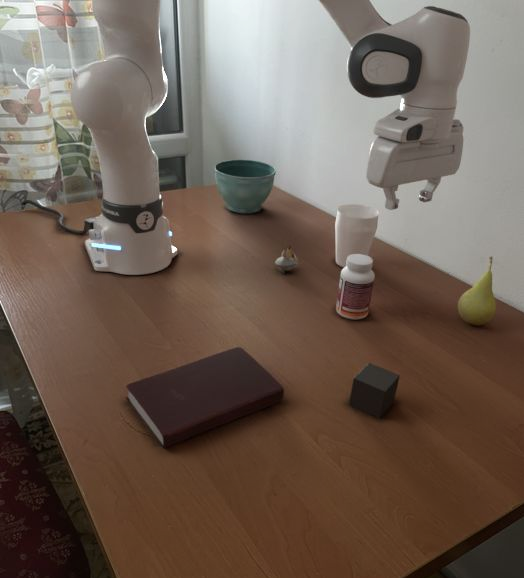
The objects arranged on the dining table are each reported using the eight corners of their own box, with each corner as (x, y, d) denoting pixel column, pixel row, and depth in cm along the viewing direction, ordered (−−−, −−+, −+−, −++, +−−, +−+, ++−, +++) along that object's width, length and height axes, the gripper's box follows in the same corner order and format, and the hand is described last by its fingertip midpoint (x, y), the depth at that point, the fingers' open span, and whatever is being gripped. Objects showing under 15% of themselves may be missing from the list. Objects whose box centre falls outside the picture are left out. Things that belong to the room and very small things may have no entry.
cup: (352, 275, 118) (360, 222, 111) (321, 260, 123) (328, 209, 116) (378, 265, 123) (388, 213, 116) (348, 251, 128) (355, 201, 121)
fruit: (452, 326, 102) (468, 267, 95) (455, 308, 107) (471, 251, 101) (489, 334, 100) (509, 275, 93) (491, 316, 106) (509, 258, 99)
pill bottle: (374, 315, 103) (385, 262, 97) (350, 323, 100) (359, 269, 94) (353, 301, 108) (361, 249, 102) (328, 309, 105) (336, 256, 99)
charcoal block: (348, 404, 81) (353, 377, 78) (364, 388, 84) (369, 362, 82) (379, 418, 79) (385, 391, 76) (393, 401, 82) (400, 375, 79)
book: (283, 403, 80) (285, 386, 79) (164, 452, 71) (162, 433, 69) (238, 361, 89) (238, 344, 87) (125, 400, 79) (123, 382, 77)
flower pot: (285, 209, 150) (288, 169, 144) (243, 223, 140) (245, 181, 134) (244, 194, 159) (245, 156, 153) (202, 206, 149) (201, 166, 143)
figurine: (278, 275, 116) (280, 249, 112) (271, 267, 119) (273, 241, 116) (301, 273, 117) (303, 247, 114) (293, 264, 121) (296, 239, 117)
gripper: (450, 114, 98) (433, 191, 105) (367, 124, 88) (355, 208, 95) (479, 121, 93) (459, 201, 101) (395, 132, 83) (380, 219, 91)
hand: (408, 204), depth 98 cm, fingers open, 7 cm apart
